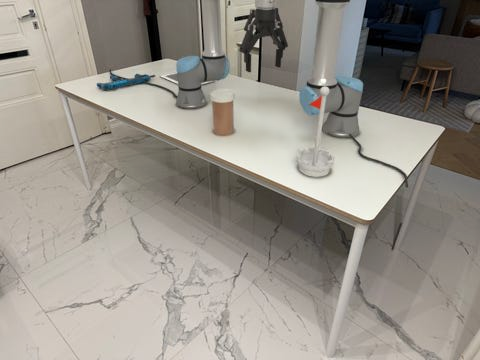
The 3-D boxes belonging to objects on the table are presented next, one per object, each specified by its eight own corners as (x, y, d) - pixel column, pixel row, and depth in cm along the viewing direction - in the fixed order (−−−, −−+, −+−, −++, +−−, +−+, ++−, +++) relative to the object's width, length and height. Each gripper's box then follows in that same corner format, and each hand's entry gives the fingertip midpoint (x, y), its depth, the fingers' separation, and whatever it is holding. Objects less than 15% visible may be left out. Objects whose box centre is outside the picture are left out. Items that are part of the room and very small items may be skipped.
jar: (221, 137, 145) (220, 99, 135) (209, 130, 150) (207, 93, 141) (237, 131, 149) (237, 94, 140) (225, 125, 155) (224, 89, 146)
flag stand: (319, 157, 130) (331, 78, 113) (339, 173, 119) (355, 90, 103) (289, 163, 126) (296, 83, 109) (307, 181, 115) (318, 95, 99)
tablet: (159, 76, 219) (159, 75, 219) (186, 70, 230) (186, 70, 230) (187, 88, 199) (187, 87, 198) (214, 81, 210) (214, 80, 210)
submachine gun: (141, 68, 225) (159, 74, 208) (142, 74, 227) (160, 80, 210) (89, 78, 206) (104, 86, 190) (91, 84, 208) (106, 92, 192)
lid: (220, 104, 136) (219, 99, 135) (205, 97, 142) (205, 92, 141) (239, 99, 141) (239, 93, 140) (225, 92, 148) (224, 87, 146)
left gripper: (240, 11, 112) (240, 76, 124) (300, 7, 122) (295, 67, 134) (229, 9, 118) (230, 71, 129) (288, 5, 128) (284, 62, 140)
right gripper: (283, -6, 163) (280, 41, 174) (236, -3, 154) (237, 46, 166) (292, -4, 157) (288, 44, 169) (243, -2, 148) (243, 49, 160)
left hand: (263, 69), depth 132 cm, fingers open, 13 cm apart
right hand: (263, 45), depth 167 cm, fingers open, 13 cm apart
